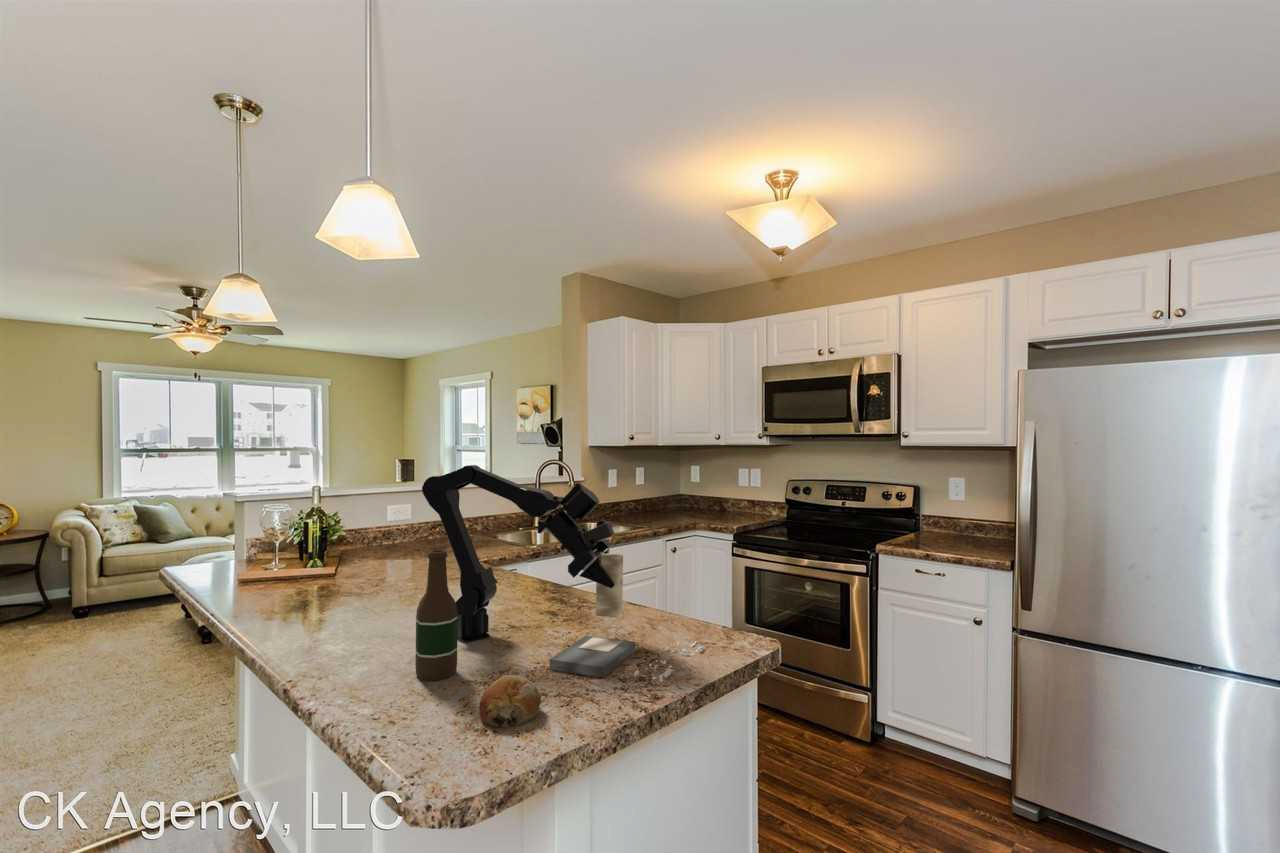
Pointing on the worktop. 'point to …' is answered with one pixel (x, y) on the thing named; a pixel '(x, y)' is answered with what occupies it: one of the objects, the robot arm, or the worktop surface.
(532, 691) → the bread roll
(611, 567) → the birch pillar
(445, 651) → the beer bottle
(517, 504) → the robot arm
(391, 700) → the worktop surface
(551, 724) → the worktop surface
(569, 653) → the slate plinth
